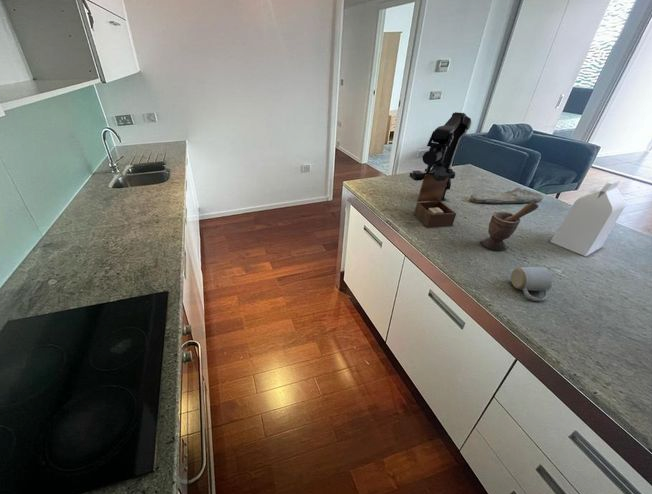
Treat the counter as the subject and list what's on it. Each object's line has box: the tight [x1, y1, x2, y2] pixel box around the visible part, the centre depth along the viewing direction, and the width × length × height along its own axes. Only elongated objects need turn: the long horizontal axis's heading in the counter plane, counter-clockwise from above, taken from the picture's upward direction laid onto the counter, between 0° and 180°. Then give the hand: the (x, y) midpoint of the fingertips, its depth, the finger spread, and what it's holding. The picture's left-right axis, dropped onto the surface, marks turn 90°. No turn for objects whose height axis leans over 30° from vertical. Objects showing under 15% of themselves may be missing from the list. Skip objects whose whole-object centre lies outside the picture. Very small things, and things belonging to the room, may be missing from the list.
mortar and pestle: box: [482, 202, 539, 252], centre depth 110 cm, size 12×9×20 cm
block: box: [428, 208, 444, 214], centre depth 133 cm, size 5×5×5 cm
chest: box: [413, 200, 457, 229], centre depth 133 cm, size 13×11×6 cm
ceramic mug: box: [510, 266, 553, 302], centre depth 92 cm, size 11×8×8 cm
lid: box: [416, 174, 449, 203], centre depth 132 cm, size 13×11×1 cm
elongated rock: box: [469, 187, 544, 204], centre depth 149 cm, size 35×5×10 cm
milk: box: [550, 179, 627, 257], centre depth 108 cm, size 12×12×26 cm
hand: (427, 192), depth 137 cm, fingers closed
